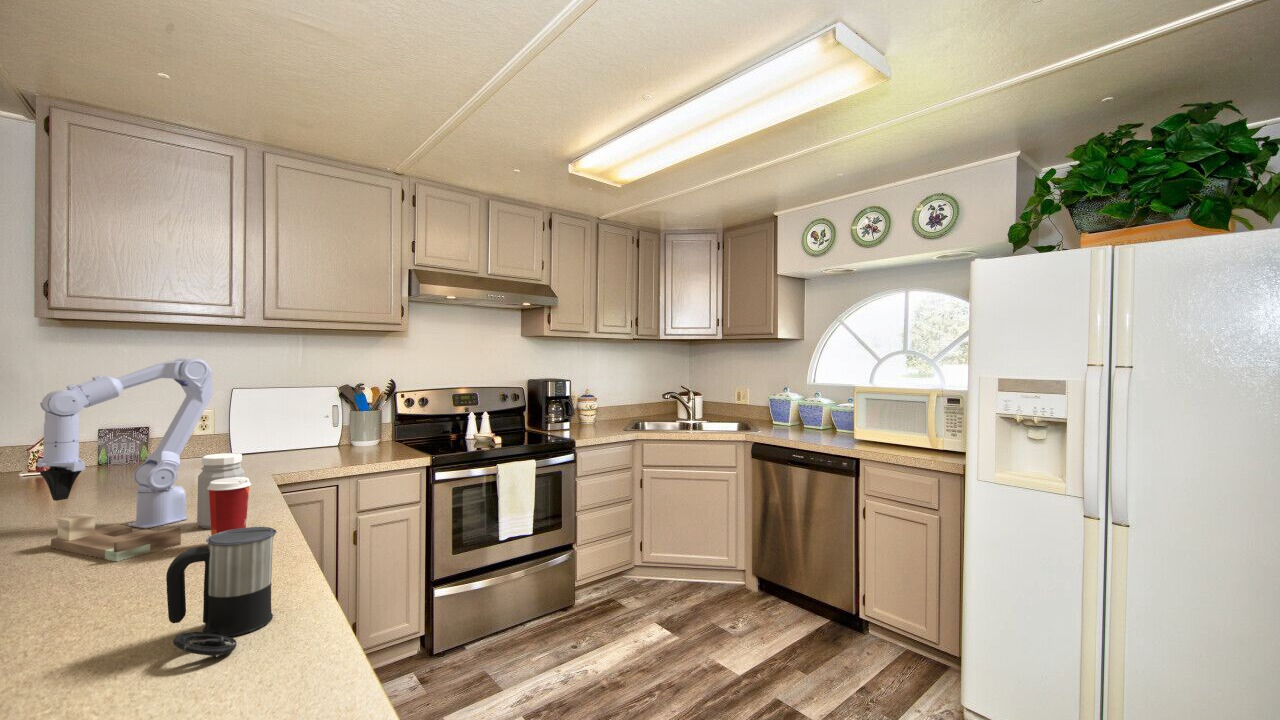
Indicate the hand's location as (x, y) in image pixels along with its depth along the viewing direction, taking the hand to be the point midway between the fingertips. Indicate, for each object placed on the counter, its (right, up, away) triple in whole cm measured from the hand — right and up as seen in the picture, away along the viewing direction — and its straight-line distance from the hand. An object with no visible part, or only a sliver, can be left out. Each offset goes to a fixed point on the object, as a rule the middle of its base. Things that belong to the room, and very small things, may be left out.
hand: (60, 499), depth 127 cm
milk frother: (+71, -11, -42) cm, 84 cm away
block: (+6, -8, -2) cm, 10 cm away
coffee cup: (+40, -11, 0) cm, 41 cm away
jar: (+26, -11, +15) cm, 32 cm away
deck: (+16, -10, -2) cm, 19 cm away
